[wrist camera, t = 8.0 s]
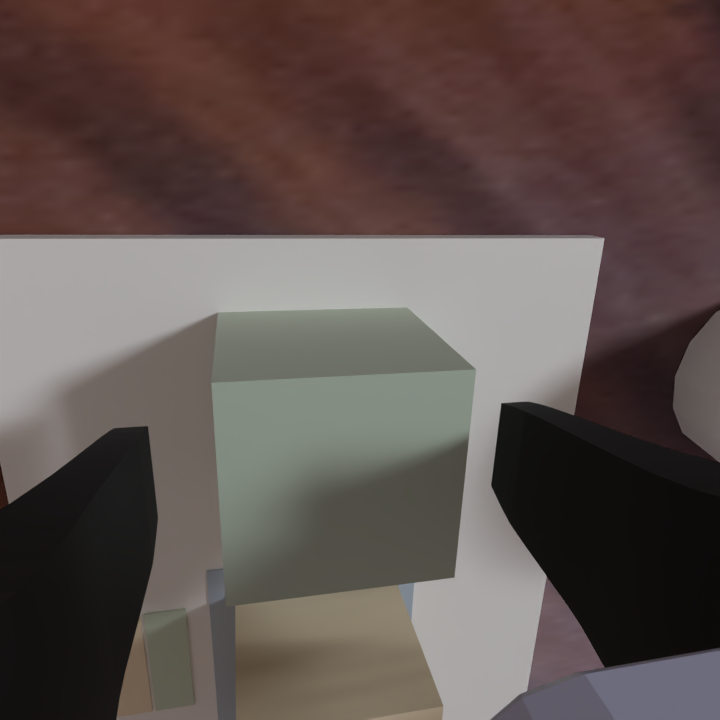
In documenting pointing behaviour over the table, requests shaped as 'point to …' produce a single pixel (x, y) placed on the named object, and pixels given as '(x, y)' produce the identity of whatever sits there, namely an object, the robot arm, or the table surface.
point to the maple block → (332, 659)
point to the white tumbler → (700, 389)
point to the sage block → (337, 451)
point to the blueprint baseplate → (196, 422)
